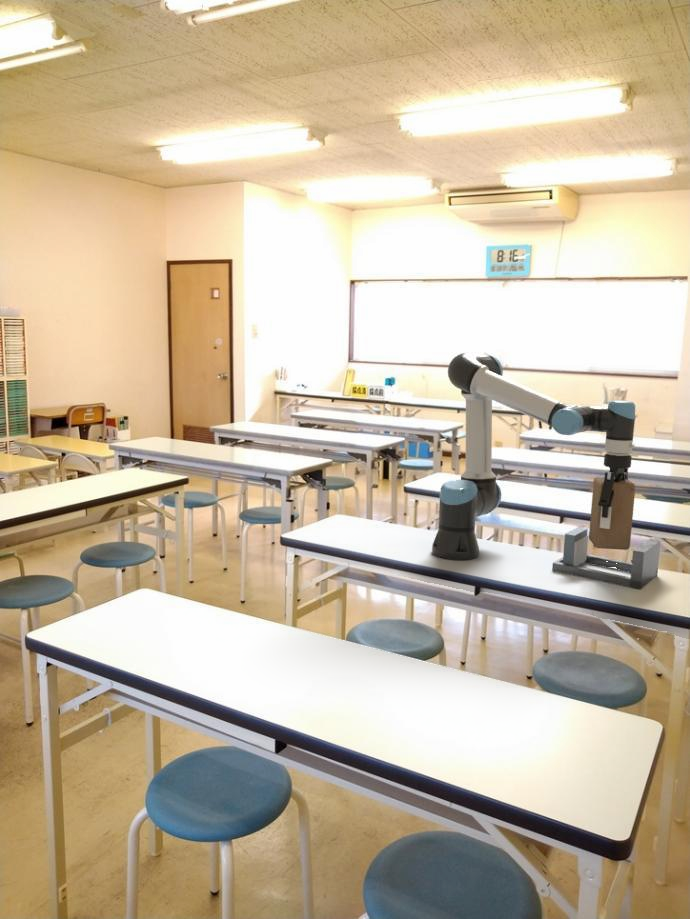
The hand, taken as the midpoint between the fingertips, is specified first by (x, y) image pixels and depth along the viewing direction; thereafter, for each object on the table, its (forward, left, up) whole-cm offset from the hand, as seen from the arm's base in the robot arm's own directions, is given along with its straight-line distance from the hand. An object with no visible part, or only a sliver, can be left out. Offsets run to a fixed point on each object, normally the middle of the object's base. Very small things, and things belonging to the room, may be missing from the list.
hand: (612, 524), depth 215 cm
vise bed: (-1, 0, -16) cm, 16 cm away
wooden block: (-1, 0, -7) cm, 7 cm away
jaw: (-10, 0, -15) cm, 18 cm away
